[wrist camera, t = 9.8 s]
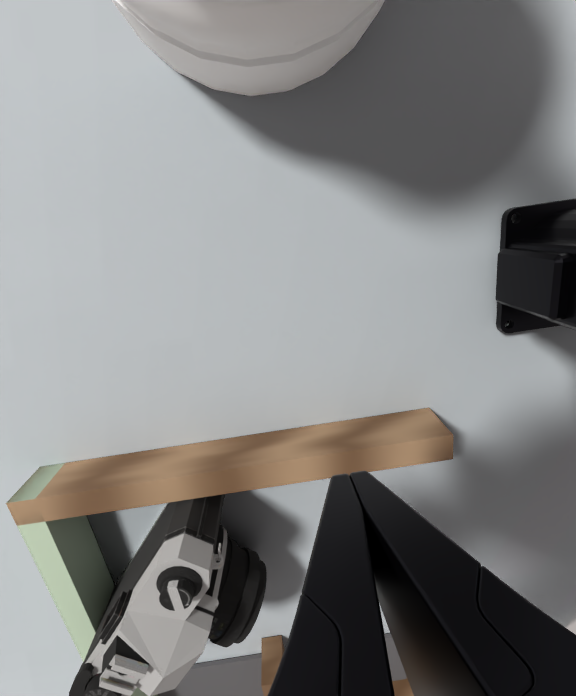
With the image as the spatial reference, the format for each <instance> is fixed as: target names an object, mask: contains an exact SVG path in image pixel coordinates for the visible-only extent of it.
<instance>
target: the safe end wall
mask: <svg viewBox="0 0 576 696" xmlns="http://www.w3.org/2000/svg"><path fill="white" fill-rule="evenodd" d="M64 464H65V463H62V464H56V465H52V466H51V465H49V466H42V467H41V468H42V469H43V470H42V469H40V467H39V470H37V471H38V472H39V473H37V471H36V472H35V473H37V475H36V474H35V473H34V474H35V475H34V474H33V475H32V476H31V477H32V479H30V478H29V479H30V480H31V481H30V480H29V481H27V482H28V484H27V485H26V484H25V485H24V487H23V486H22V487H23V488H24V490H23V488H22V487H21V488H22V490H23V491H22V492H23V493H21V490H20V489H19V492H20V493H19V492H18V491H17V492H16V493H15V494H17V495H16V497H15V496H14V495H15V494H14V495H13V499H12V498H11V499H10V500H9V501H12V502H14V501H15V502H18V501H24V500H31V499H35V498H36V497H37V496H38V495H39V494H40V492H41V491H42V490H43V489H44V488H45V486H46V485H47V484H48V483H49V482H50V480H51V479H52V478H53V477H54V476H55V474H56V473H57V472H58V471H59V470H60V469H61V467H62V466H63V465H64ZM44 468H45V469H44ZM48 469H49V470H48ZM40 471H41V473H42V474H41V473H40ZM39 474H40V475H39ZM38 475H39V476H38ZM34 476H35V477H37V476H38V477H37V478H35V477H34ZM33 478H34V479H33ZM32 480H33V481H32ZM34 481H35V482H34ZM31 482H32V484H31ZM25 483H26V482H25ZM29 484H31V485H30V486H29ZM25 488H26V489H25ZM33 489H34V490H33ZM24 491H25V492H24ZM21 494H22V495H21ZM18 498H19V499H18ZM17 500H18V501H17ZM9 501H8V502H7V503H11V502H9ZM31 504H32V503H31ZM24 507H25V506H24ZM35 507H36V506H35ZM35 509H36V508H35ZM30 514H31V513H30ZM41 515H42V513H41ZM36 518H38V517H36ZM28 519H29V518H28ZM34 519H35V518H34ZM16 521H19V520H16ZM24 521H25V520H24ZM22 523H23V521H22ZM26 523H27V522H26ZM19 524H21V523H19ZM17 525H18V523H17ZM17 527H18V529H19V531H20V533H21V535H22V537H23V539H24V541H25V543H26V545H27V547H28V549H29V551H30V553H31V555H32V557H33V560H34V562H35V564H36V566H37V568H38V570H39V572H40V574H41V576H42V578H43V580H44V582H45V584H46V586H47V588H48V590H49V592H50V594H51V597H52V599H53V601H54V603H55V605H56V607H57V609H58V611H59V613H60V615H61V617H62V619H63V621H64V623H65V625H66V627H67V629H68V631H69V633H70V636H71V638H72V640H73V642H74V644H75V646H76V648H77V650H78V652H79V654H80V656H81V658H82V660H83V662H84V660H85V657H86V655H87V653H88V650H89V648H90V645H91V643H92V641H93V638H94V636H95V634H96V631H97V629H98V626H99V624H100V622H101V619H102V617H103V615H104V612H105V610H106V607H107V605H108V603H109V600H110V598H111V594H112V592H113V589H114V588H115V586H114V583H113V581H112V578H111V576H110V573H109V571H108V568H107V566H106V563H105V561H104V558H103V556H102V553H101V551H100V548H99V546H98V543H97V541H96V538H95V536H94V534H93V531H92V529H91V526H90V524H89V521H88V519H87V516H86V515H84V516H78V517H71V518H65V519H58V520H52V521H45V522H39V523H32V524H29V523H27V524H26V525H25V524H24V525H19V526H17ZM131 696H148V695H146V694H145V693H144V692H143V691H141V690H140V689H139V688H136V689H135V691H134V692H133V694H132V695H131ZM153 696H158V694H156V695H153Z"/></svg>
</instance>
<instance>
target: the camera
mask: <svg viewBox="0 0 576 696" xmlns="http://www.w3.org/2000/svg"><path fill="white" fill-rule="evenodd" d="M224 497H225V494H221V495H215V496H208V497H202V498H195V499H189V500H182V501H176V502H169V503H167V504H166V506H165V507H164V509H163V511H162V512H161V514H160V515H159V517H158V518H157V520H156V522H155V523H154V525H153V526H152V528H151V530H150V531H149V533H148V534H147V536H146V538H145V539H144V541H143V542H142V544H141V546H140V547H139V549H138V550H137V552H136V553H135V555H134V557H133V558H132V560H131V561H130V563H129V565H128V566H127V568H126V569H125V571H124V573H123V574H122V576H121V577H120V579H119V581H118V582H117V584H116V586H115V588H114V589H113V592H112V594H111V598H110V600H109V603H108V605H107V607H106V610H105V612H104V615H103V617H102V619H101V622H100V624H99V626H98V629H97V631H96V634H95V636H94V638H93V641H92V643H91V645H90V648H89V650H88V653H87V655H86V657H85V660H84V662H83V664H82V665H81V667H80V670H79V672H78V674H77V675H76V677H75V680H74V682H73V685H72V687H71V690H70V692H69V696H131V695H132V694H133V692H134V691H135V689H136V688H139V689H140V690H141V691H143V692H144V693H145V694H146V695H148V696H153V695H156V694H160V693H163V692H166V691H169V690H173V689H175V688H176V687H177V685H178V684H179V683H180V681H181V680H182V679H183V678H184V676H185V675H186V674H187V672H188V671H189V670H190V668H191V667H192V666H193V665H194V663H195V662H196V661H197V659H198V658H199V657H200V655H201V654H202V653H203V651H204V648H205V645H206V642H207V639H208V638H210V641H211V642H212V643H215V644H217V645H220V646H223V647H228V646H231V645H232V644H233V643H240V642H242V641H243V640H244V639H245V638H246V637H247V636H248V634H249V633H250V631H251V630H252V628H253V626H254V624H255V622H256V619H257V617H258V614H259V611H260V609H261V606H262V602H263V598H264V593H265V588H266V567H265V564H264V563H263V561H261V560H260V559H259V556H258V554H257V553H256V552H254V551H252V550H249V549H247V548H245V547H244V548H239V546H238V545H237V543H236V541H234V540H232V539H230V538H227V531H226V529H224V528H223V526H222V525H220V518H221V512H222V506H223V499H224Z"/></svg>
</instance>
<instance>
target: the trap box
mask: <svg viewBox="0 0 576 696" xmlns="http://www.w3.org/2000/svg"><path fill="white" fill-rule="evenodd" d="M450 459H453V434H452V433H451V432H450V431H449V430H448V428H447V427H446V426H445V425H444V424H443V423H442V422H441V421H440V419H439V418H438V417H437V416H436V415H435V414H434V413H433V412H432V410H431V409H430V408H424V409H418V410H411V411H405V412H398V413H391V414H385V415H378V416H372V417H365V418H358V419H352V420H345V421H339V422H332V423H326V424H319V425H312V426H306V427H299V428H293V429H286V430H279V431H273V432H266V433H260V434H253V435H247V436H240V437H233V438H227V439H220V440H214V441H207V442H200V443H194V444H187V445H181V446H174V447H168V448H161V449H154V450H148V451H141V452H135V453H128V454H121V455H115V456H108V457H102V458H95V459H89V460H82V461H75V462H69V463H65V464H64V465H63V466H62V467H61V469H60V470H59V471H58V472H57V473H56V474H55V476H54V477H53V478H52V479H51V480H50V482H49V483H48V484H47V485H46V486H45V488H44V489H43V490H42V491H41V492H40V494H39V495H38V496H37V497H36V498H35V499H31V500H24V501H18V500H17V501H18V502H15V501H14V502H12V501H9V502H11V503H6V504H7V506H8V508H9V510H10V512H11V514H12V516H13V518H14V521H15V523H16V525H17V523H18V525H17V526H19V525H24V524H25V525H26V524H27V523H29V524H32V523H39V522H45V521H52V520H58V519H65V518H71V517H78V516H84V515H91V514H98V513H104V512H111V511H117V510H124V509H130V508H137V507H143V506H150V505H156V504H163V503H169V502H176V501H182V500H189V499H195V498H202V497H208V496H215V495H221V494H228V493H234V492H241V491H247V490H254V489H261V488H267V487H274V486H280V485H287V484H293V483H300V482H306V481H313V480H319V479H326V478H331V477H332V476H333V475H339V474H345V473H346V474H348V475H350V473H352V472H358V471H367V472H371V471H378V470H384V469H391V468H397V467H404V466H410V465H417V464H423V463H430V462H437V461H443V460H450ZM51 466H52V465H51ZM40 469H42V468H41V467H40ZM44 469H45V468H44ZM38 470H39V469H38ZM42 470H43V469H42ZM48 470H49V469H48ZM37 473H39V472H38V471H37ZM37 473H35V474H36V475H37ZM40 473H41V471H40ZM35 474H34V475H35ZM41 474H42V473H41ZM39 475H40V474H39ZM39 475H38V476H39ZM38 476H37V477H38ZM34 477H35V476H34ZM37 477H35V478H37ZM30 479H32V477H30ZM30 479H28V480H27V481H29V480H30ZM33 479H34V478H33ZM27 481H26V483H25V484H26V485H27V484H28V482H27ZM30 481H31V480H30ZM32 481H33V480H32ZM34 482H35V481H34ZM25 484H24V485H25ZM31 484H32V482H31ZM31 484H29V486H30V485H31ZM24 485H23V487H24ZM23 487H22V488H23ZM22 488H20V490H21V493H23V492H22V491H23V490H24V488H23V490H22ZM25 489H26V488H25ZM33 490H34V489H33ZM18 492H19V490H18ZM24 492H25V491H24ZM19 493H20V492H19ZM16 495H17V494H15V495H14V496H15V497H16ZM21 495H22V494H21ZM12 499H13V496H12ZM18 499H19V498H18ZM31 503H32V504H31ZM24 506H25V507H24ZM35 506H36V507H35ZM35 508H36V509H35ZM30 513H31V514H30ZM41 513H42V515H41ZM36 517H38V518H36ZM28 518H29V519H28ZM34 518H35V519H34ZM16 520H19V521H16ZM24 520H25V521H24ZM22 521H23V523H22ZM26 522H27V523H26ZM19 523H21V524H19ZM283 653H284V645H283V640H282V635H280V636H274V637H267V638H262V666H261V687H262V691H263V695H264V696H267V695H268V693H269V690H270V688H271V685H272V683H273V680H274V678H275V675H276V673H277V670H278V667H279V664H280V662H281V659H282V656H283ZM406 677H407V676H406ZM392 682H393V688H394V694H395V696H414V695H413V692H412V689H411V687H410V684H409V681H408V679H403V680H396V681H392Z"/></svg>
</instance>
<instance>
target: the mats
mask: <svg viewBox="0 0 576 696" xmlns="http://www.w3.org/2000/svg"><path fill="white" fill-rule="evenodd" d="M384 635H385V641H386V647H387V653H388V659H389V665H390V670H391V676H392V681H396V680H403V679H407V677H406V673H405V671H404V668H403V665H402V662H401V660H400V657H399V654H398V652H397V649H396V646H395V644H394V641H393V638H392V635H391V633H388V634H384ZM261 666H262V653H261V654H255V655H249V656H242V657H236V658H230V659H223V660H217V661H211V662H204V663H198V664H194V665H193V666H192V667H191V668H190V670H189V671H188V672H187V674H186V675H185V676H184V678H183V679H182V680H181V681H180V683H179V684H178V685H177V687H176V688H175V689H173V690H169V691H166V692H163V693H160V694H158V696H264V695H263V691H262V687H261Z"/></svg>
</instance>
